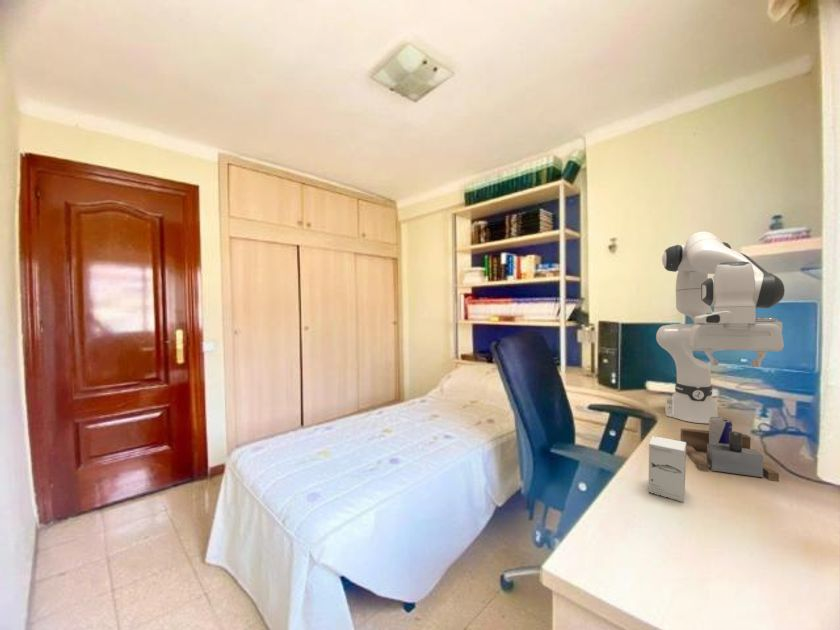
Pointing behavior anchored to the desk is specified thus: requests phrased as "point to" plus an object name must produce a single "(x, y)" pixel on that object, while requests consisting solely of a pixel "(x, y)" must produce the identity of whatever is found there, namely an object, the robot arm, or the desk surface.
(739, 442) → the sliding jaw
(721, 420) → the energy drink
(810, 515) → the desk surface
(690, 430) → the vise frame
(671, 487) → the supplement box
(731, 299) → the robot arm
